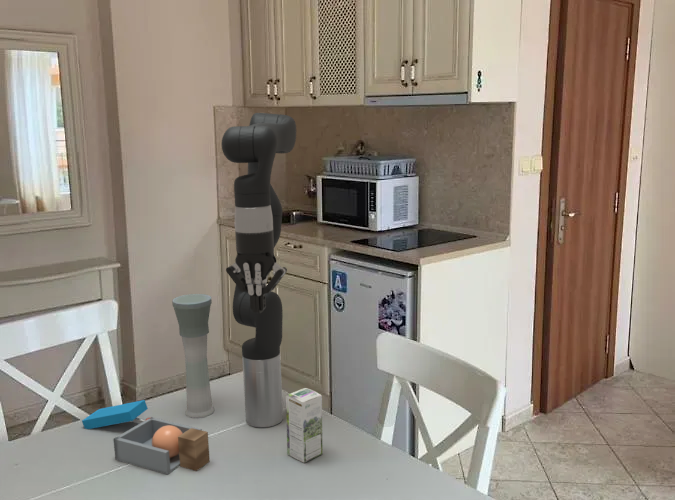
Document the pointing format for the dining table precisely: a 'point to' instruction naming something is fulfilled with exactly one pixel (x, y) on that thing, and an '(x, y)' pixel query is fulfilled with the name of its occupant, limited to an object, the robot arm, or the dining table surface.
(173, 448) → the ball
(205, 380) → the container
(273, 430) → the dining table surface
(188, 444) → the wooden block
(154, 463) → the tray
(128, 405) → the lever
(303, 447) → the syrup box
